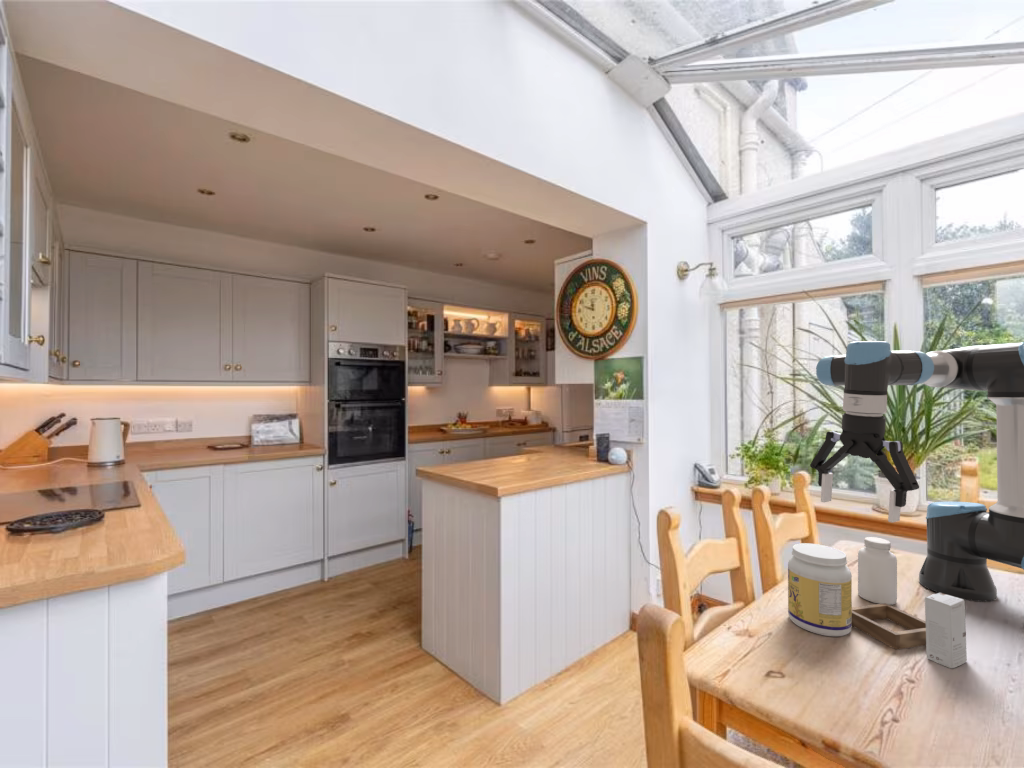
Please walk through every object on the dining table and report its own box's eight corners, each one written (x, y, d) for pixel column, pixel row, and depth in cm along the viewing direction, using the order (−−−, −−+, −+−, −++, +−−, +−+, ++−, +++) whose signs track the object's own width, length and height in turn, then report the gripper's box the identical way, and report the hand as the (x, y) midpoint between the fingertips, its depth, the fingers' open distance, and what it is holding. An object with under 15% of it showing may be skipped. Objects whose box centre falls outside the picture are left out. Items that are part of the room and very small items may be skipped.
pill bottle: (904, 607, 116) (904, 545, 116) (867, 604, 118) (867, 543, 118) (886, 593, 124) (885, 536, 124) (851, 590, 126) (851, 534, 126)
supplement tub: (779, 610, 115) (779, 540, 115) (835, 614, 113) (834, 543, 113) (801, 636, 103) (800, 558, 103) (864, 641, 101) (863, 561, 101)
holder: (885, 616, 112) (885, 603, 112) (941, 642, 100) (941, 628, 100) (843, 621, 109) (843, 608, 109) (896, 649, 97) (896, 634, 97)
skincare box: (953, 670, 90) (952, 606, 90) (924, 658, 94) (923, 597, 94) (968, 661, 93) (967, 599, 93) (939, 650, 97) (939, 591, 97)
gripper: (796, 407, 111) (791, 496, 112) (924, 423, 88) (916, 533, 90) (816, 406, 114) (812, 492, 116) (945, 420, 91) (937, 527, 93)
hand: (857, 510), depth 103 cm, fingers open, 13 cm apart
